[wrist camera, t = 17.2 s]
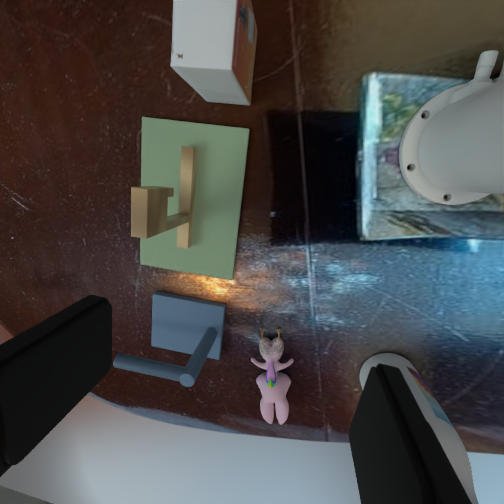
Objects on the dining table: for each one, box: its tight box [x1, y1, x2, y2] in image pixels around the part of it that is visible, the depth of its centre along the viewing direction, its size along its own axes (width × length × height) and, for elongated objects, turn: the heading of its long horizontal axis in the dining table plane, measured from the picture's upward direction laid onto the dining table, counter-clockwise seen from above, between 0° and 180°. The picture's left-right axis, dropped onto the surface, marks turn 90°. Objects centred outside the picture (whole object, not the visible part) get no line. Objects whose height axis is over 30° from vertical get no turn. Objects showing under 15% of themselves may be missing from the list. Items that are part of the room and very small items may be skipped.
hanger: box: [131, 146, 197, 249], centre depth 30 cm, size 13×2×12 cm, turn 173°
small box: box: [170, 0, 258, 105], centre depth 27 cm, size 8×6×10 cm
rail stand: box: [113, 291, 226, 387], centre depth 36 cm, size 9×11×11 cm
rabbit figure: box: [251, 328, 294, 424], centre depth 39 cm, size 6×6×15 cm
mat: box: [140, 117, 250, 280], centre depth 36 cm, size 20×14×1 cm
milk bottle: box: [359, 353, 478, 504], centre depth 29 cm, size 8×8×20 cm
